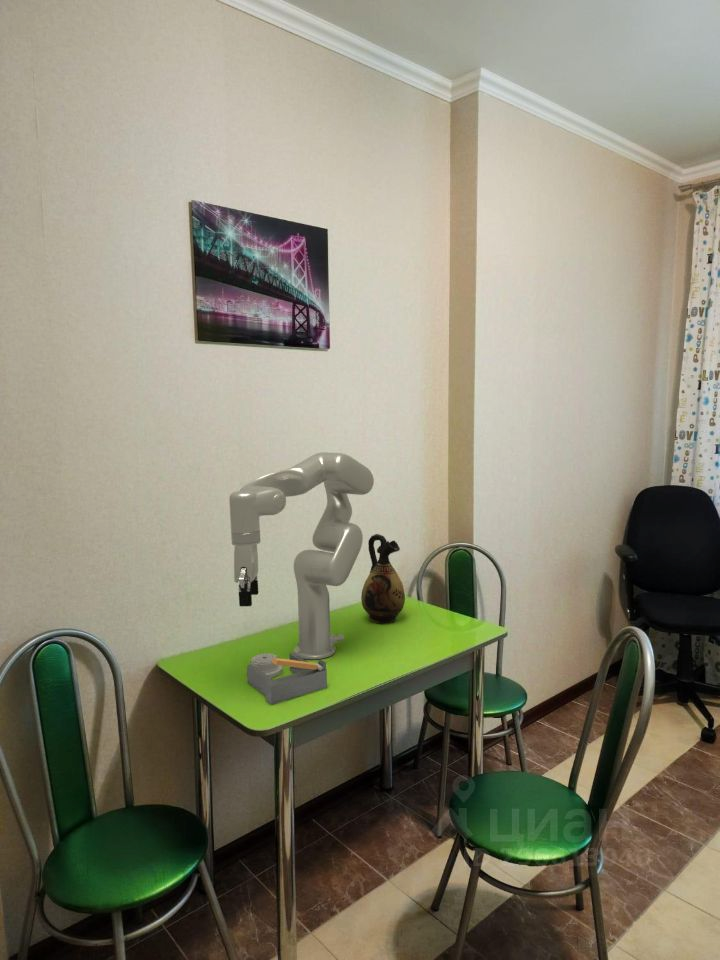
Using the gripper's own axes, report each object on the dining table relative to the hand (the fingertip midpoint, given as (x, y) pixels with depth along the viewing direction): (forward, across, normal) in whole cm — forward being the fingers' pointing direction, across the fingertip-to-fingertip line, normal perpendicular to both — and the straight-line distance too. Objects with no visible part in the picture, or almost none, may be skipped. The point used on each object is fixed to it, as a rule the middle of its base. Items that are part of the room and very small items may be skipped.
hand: (249, 600), depth 172 cm
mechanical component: (+24, -7, +2) cm, 25 cm away
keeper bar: (+16, +7, +13) cm, 22 cm away
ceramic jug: (+25, -52, +36) cm, 68 cm away
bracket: (+23, +2, +9) cm, 25 cm away
